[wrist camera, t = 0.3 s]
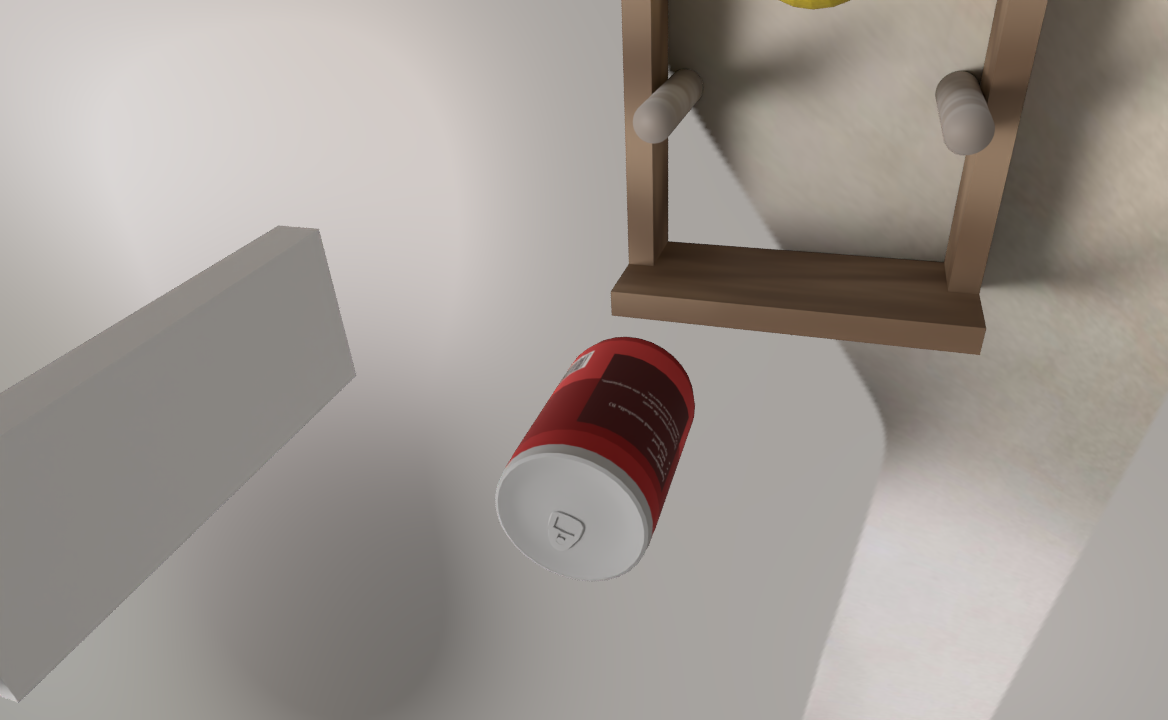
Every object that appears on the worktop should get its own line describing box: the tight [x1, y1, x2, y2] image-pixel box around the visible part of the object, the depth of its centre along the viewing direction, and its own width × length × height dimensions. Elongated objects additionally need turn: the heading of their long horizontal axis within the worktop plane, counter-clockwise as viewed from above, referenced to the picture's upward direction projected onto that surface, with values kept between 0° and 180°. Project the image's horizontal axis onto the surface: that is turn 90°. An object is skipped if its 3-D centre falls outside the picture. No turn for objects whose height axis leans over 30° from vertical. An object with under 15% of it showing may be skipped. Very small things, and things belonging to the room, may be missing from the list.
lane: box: [611, 0, 1048, 355], centre depth 30 cm, size 21×15×6 cm
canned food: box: [495, 337, 695, 581], centre depth 40 cm, size 8×8×11 cm
